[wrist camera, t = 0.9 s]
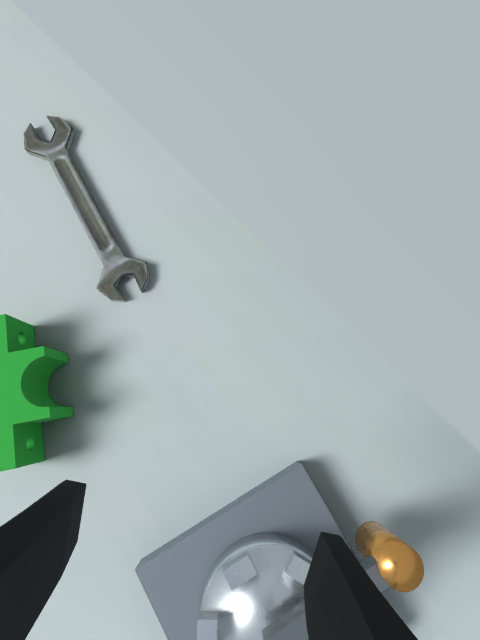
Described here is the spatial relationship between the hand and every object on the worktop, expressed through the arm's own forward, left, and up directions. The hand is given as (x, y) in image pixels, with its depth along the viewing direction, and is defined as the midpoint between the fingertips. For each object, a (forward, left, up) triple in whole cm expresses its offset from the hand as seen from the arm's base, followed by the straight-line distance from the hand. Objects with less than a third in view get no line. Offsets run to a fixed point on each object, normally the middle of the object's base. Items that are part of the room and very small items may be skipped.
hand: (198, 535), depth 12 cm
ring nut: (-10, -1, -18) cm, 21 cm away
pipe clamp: (+12, +10, -21) cm, 26 cm away
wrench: (+25, 0, -21) cm, 33 cm away
